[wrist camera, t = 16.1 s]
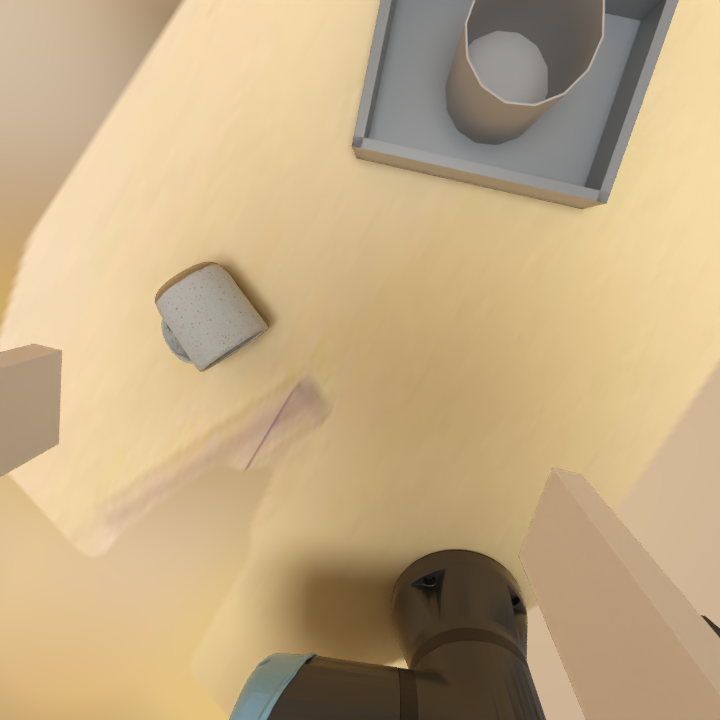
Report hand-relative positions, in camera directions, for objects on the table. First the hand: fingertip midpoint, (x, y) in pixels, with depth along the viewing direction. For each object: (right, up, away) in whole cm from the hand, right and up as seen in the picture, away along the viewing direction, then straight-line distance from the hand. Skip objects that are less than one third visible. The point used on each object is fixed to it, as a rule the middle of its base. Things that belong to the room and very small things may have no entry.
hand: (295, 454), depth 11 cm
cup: (+13, +25, +24) cm, 38 cm away
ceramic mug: (-13, +7, +33) cm, 36 cm away
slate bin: (+13, +26, +25) cm, 38 cm away
